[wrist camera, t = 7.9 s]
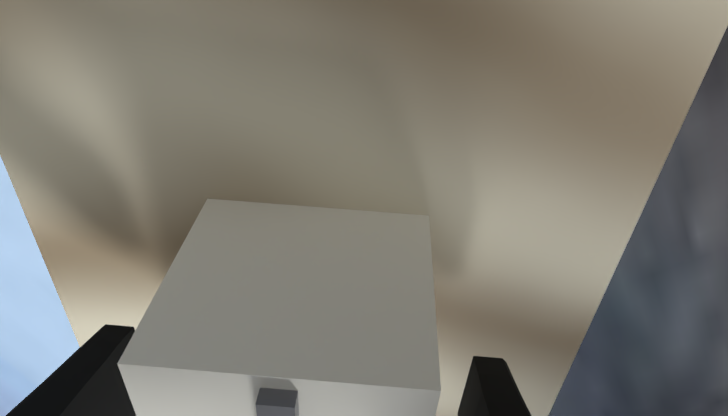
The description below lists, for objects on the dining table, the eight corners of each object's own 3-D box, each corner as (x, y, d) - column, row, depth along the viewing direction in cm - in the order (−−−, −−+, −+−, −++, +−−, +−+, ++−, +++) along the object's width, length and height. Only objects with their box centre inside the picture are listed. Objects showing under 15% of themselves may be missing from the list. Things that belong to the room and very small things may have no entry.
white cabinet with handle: (407, 358, 14) (408, 550, 10) (230, 344, 14) (166, 528, 11) (428, 215, 11) (441, 408, 8) (207, 198, 12) (108, 379, 8)
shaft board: (515, 446, 18) (539, 576, 15) (130, 412, 19) (72, 533, 15) (720, -40, 9) (897, 27, 6) (-56, -94, 9) (-302, -59, 6)
